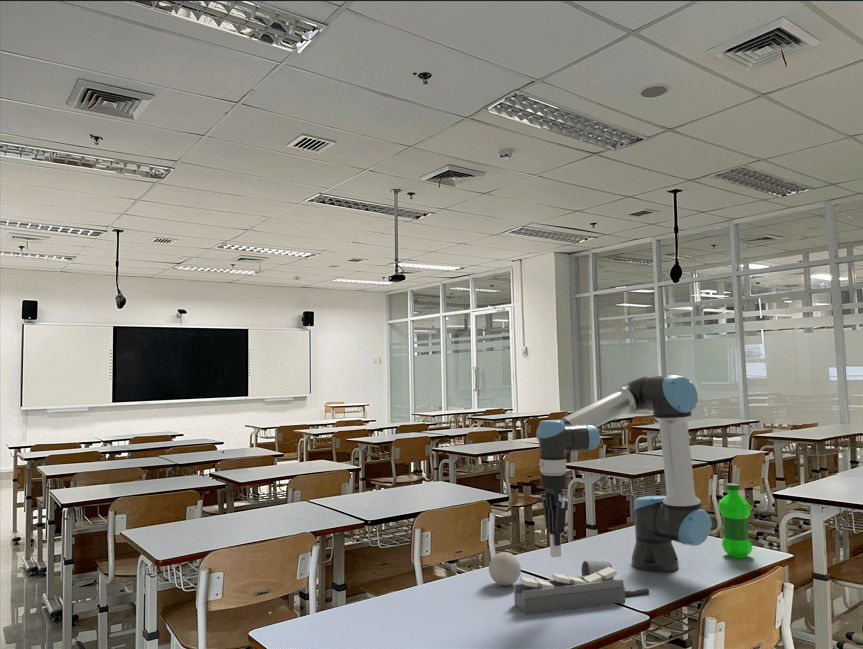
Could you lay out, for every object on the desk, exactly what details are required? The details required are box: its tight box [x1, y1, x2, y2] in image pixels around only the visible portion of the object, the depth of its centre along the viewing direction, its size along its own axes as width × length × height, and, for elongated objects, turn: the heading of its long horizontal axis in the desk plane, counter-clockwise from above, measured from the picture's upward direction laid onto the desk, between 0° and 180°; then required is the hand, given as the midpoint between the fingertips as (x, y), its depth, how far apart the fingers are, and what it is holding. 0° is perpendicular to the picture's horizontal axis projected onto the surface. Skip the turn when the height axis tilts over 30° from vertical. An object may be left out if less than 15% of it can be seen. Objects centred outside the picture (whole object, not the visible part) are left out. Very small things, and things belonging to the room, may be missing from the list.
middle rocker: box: [551, 572, 586, 585], centre depth 183 cm, size 9×4×1 cm, turn 104°
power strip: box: [513, 575, 650, 616], centre depth 184 cm, size 41×8×6 cm, turn 104°
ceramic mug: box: [581, 559, 615, 580], centre depth 199 cm, size 11×8×8 cm
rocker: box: [583, 567, 618, 583], centre depth 185 cm, size 9×4×1 cm, turn 104°
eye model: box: [488, 551, 522, 587], centre depth 200 cm, size 10×10×10 cm
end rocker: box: [519, 576, 554, 588], centre depth 181 cm, size 9×4×1 cm, turn 104°
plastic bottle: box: [717, 482, 753, 559], centre depth 224 cm, size 10×10×25 cm
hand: (555, 556), depth 183 cm, fingers closed
